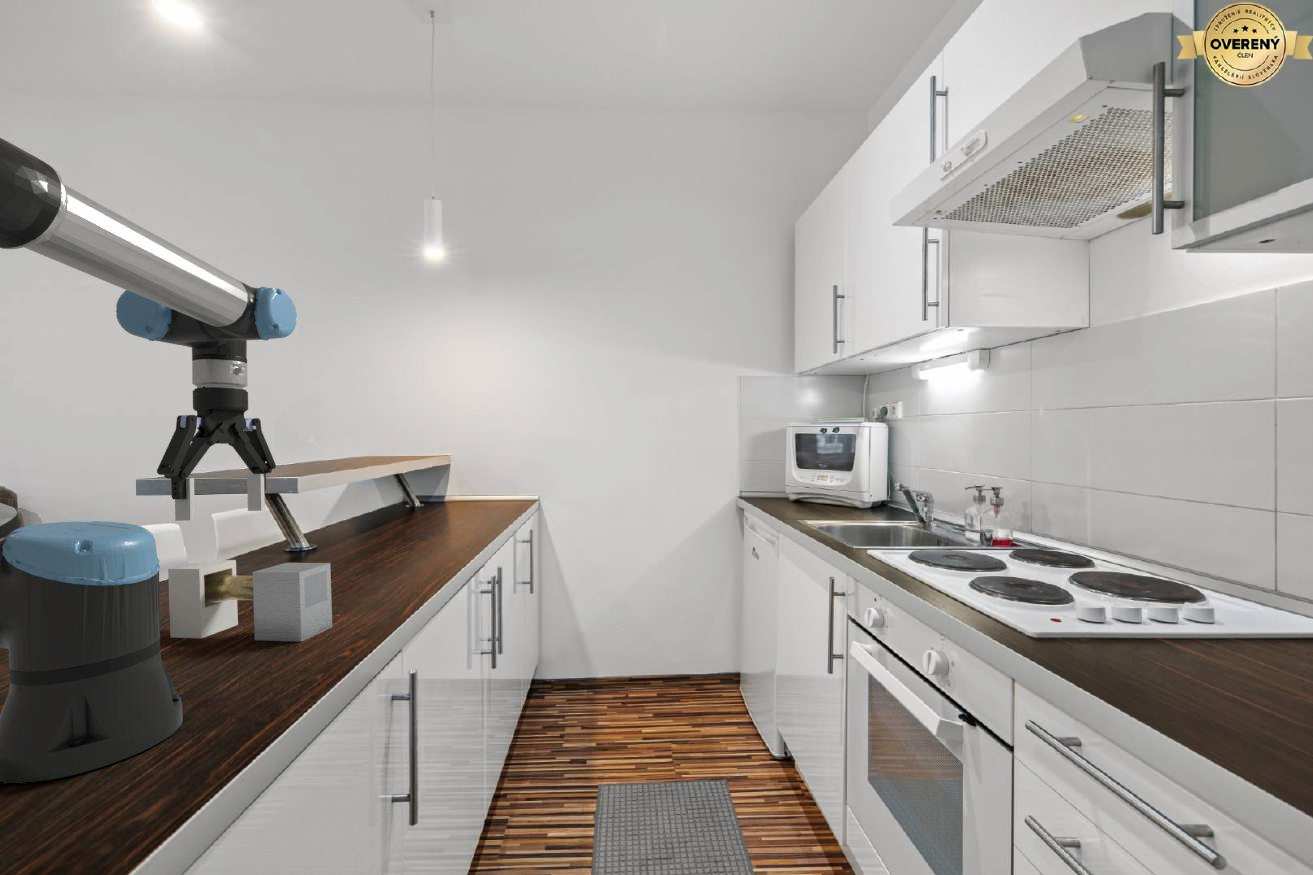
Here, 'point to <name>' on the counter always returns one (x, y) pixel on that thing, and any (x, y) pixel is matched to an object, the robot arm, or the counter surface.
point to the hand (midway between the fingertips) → (223, 515)
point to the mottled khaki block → (228, 587)
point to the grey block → (292, 601)
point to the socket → (199, 600)
